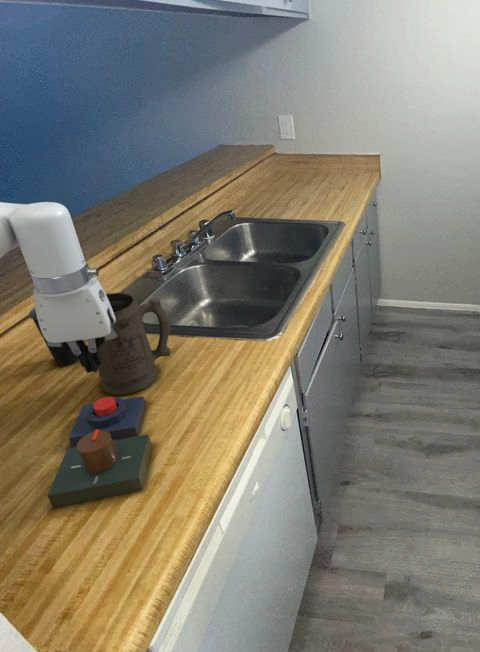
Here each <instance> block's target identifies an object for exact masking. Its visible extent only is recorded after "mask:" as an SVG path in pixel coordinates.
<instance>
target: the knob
mask: <svg viewBox="0 0 480 652" xmlns="http://www.w3.org/2000/svg"><path fill="white" fill-rule="evenodd" d="M76 447H77V450H78V452H79V455H80V457H81V460H82V462H83V465H84V467H85V470H86V471H87V472H88V473H91V474H97V473H101V472H104V471H106V470H108V469H110V468H111V467H112V466H113V465H114V464H115V463H116V461H117V459H118V456H117V453H116V450H115V447H114V444H113V440H112V438H111V436H110V433H109V432H107V431H102V430H101V431H99V429H98V430H95V432H91V433H89V434H87V435H85V436H84V437H83V438H81V439H80V440H79V442H78V444H77V446H76Z"/></svg>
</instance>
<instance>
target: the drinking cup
mask: <svg viewBox="0 0 480 652" xmlns="http://www.w3.org/2000/svg"><path fill="white" fill-rule="evenodd" d="M28 316H29V318H30V319H31V320H33V322H34V324H35V326H36V328H37V330H38V332H39V334H40V336H41V337H42V339H43V342H44V343H45V345H46V347H47V348H48V351H49V352H50V354H51V356H52V358H53V360H54V362H55V363H56V365H57V366H60V367H67V366H70V365H73V364H76V363H78V362H80V360H79V357H78V355H74V354H73V352H72V351H70V350H68V349H66V348H64V347H51V346H48V345H47V341H46V340H45V338H44V336H43V334H42V332H41V329H40V326H39V323H38V319H37V315H36V311H35V307H33V308H32V309H31V310H30V311H29V313H28Z"/></svg>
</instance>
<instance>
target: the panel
mask: <svg viewBox="0 0 480 652" xmlns="http://www.w3.org/2000/svg"><path fill="white" fill-rule="evenodd" d="M112 441H113V444H114V447H115V450H116V453H117V456H118V459H117V461H116V463H115V464H114V465H113V466H112V467H111V468H110V469H108V470H106V471H104V472H101V473H97V474H91V473H88V472H87V471H86V470H85V467H84V465H83V462H82V460H81V457H80V455H79V452H78V450H77V446H73V447H67V448H66V450H65V453H64V455H63V458H62V460H61V462H60V465H59V467H58V469H57V472H56V474H55V475H54V476H55V477H54V478H53V481H52V484H51V486H50V488H49V490H48V492H47V498H48V500H49V502H50V504H51V506H52V508H53V509H55V508H59V507H65V506H70V505H75V504H79V503H86V502H90V501H95V500H100V499H104V498H105V499H106V498H110V497H115V496H120V495H125V494H129V493H135V492H139V491H143V489H144V483H145V480H146V475H147V470H148V466H149V461H150V458H151V453H152V450H153V449H152V448H153V444H152V441H151V437H150V434H149V433H148V434H144V435H137V436H132V437H126V438H120V439H114V440H112Z"/></svg>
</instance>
